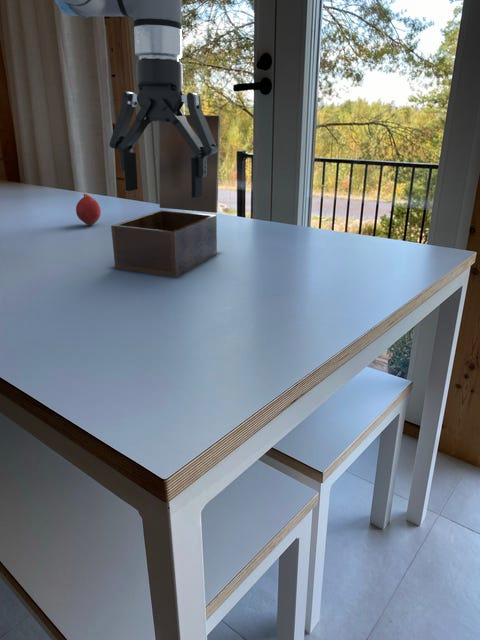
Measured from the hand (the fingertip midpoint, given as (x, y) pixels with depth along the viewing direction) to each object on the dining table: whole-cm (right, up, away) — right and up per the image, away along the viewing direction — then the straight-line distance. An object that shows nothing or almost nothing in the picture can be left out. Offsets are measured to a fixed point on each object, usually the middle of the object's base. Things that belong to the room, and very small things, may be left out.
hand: (163, 193), depth 86 cm
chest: (0, -12, +5) cm, 13 cm away
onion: (-24, 0, +33) cm, 40 cm away
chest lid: (+4, +7, +6) cm, 10 cm away
